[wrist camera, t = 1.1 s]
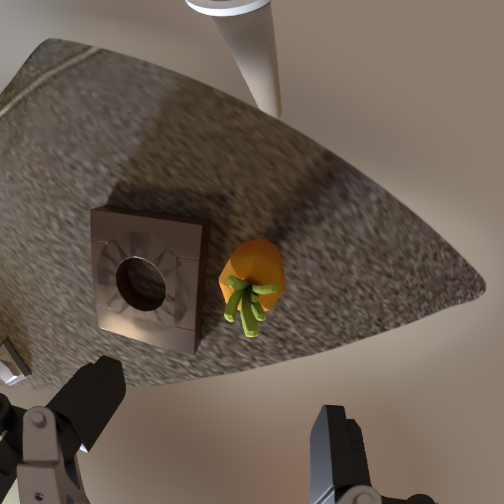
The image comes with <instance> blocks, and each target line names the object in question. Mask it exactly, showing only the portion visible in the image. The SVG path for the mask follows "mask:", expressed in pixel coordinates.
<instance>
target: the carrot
mask: <svg viewBox="0 0 504 504" xmlns="http://www.w3.org/2000/svg"><path fill="white" fill-rule="evenodd" d="M219 283H220V286H221V289H222V292H223V295H224V298H225V301H226V303H227V305H226V308H225V312H224V315H225V318H226V319H227V320H228V321H230V322H234V319H235V316H236V312H237V309H238V310H240V311H241V319H242V324H243V328H244V331H245V334H246V336H247V337H255V336H258V334H259V330H258V326H257V323H256V320H255V317H254V314H255V316H256V319H257V320H260V321H263V320H265V319H266V314H265V312H264V311H268V310H271V309H272V307H273V306H274V304H275V303H276V301H277V300H278V298H279V297H280V295H281V294H282V292H283V291H284V289H285V276H284V268H283V265H282V261H281V257H280V253H279V250H278V248H277V246H276V245H275V244H273V243H271V242H269V241H268V240H266V239H264V238H259V239H255V240H250V241H247V242H244V243H242V244H240V245H239V247H238V248H237V249H236V250H235V251H234V253H233V254H232V256H231V257H230V259H229V261H228V262H227V264H226V266H225V268H224V270H223V271H222V273H221V275H220V277H219ZM253 313H254V314H253Z"/></svg>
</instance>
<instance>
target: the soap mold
mask: <svg viewBox="0 0 504 504" xmlns="http://www.w3.org/2000/svg"><path fill="white" fill-rule="evenodd" d="M30 375H31V373H30V371H29V370H28V369H27V367H26V366H25V365H24V363H23V362H22V360H21V359H20V357H19V356H18V355H17V353H16V352H15V350H14V349H13V347H12V346H11V344H10V343H9V341H8V339H7V340H6V341H5V342H4V343H3V344H2V346H1V347H0V378H1V379H2V380H4V382H5V383H6V384H7V386H10V385H12V384H14V383H16V382H18V381H20V380H22V379H24V378H26V377H28V376H30Z"/></svg>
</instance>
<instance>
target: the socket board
mask: <svg viewBox="0 0 504 504" xmlns="http://www.w3.org/2000/svg"><path fill="white" fill-rule="evenodd" d="M209 228H210V220H208V219H201V218H194V217H187V216H180V215H173V214H166V213H159V212H151V211H144V210H136V209H128V208H120V207H112V206H101V207H98V208H94V209H91V254H92V270H93V282H94V292H95V301H96V309H97V317H98V324H99V327H100V328H103V329H106V330H109V331H112V332H115V333H118V334H121V335H124V336H127V337H130V338H133V339H137V340H140V341H143V342H147V343H150V344H154V345H157V346H161V347H164V348H168V349H172V350H176V351H180V352H184V353H188V354H192V355H195V353H196V351H197V348H198V346H199V344H200V342H201V329H202V312H203V297H204V283H205V271H206V259H207V248H208V238H209ZM133 257H136V258H141V259H145V260H146V261H148V262H150V263H151V264H153V265H154V266H155V267H156V268H157V270H158V271H159V272H160V273H161V275H162V277H163V280H164V283H165V285H166V297H165V299H163V300H157V301H154V300H150V299H146V298H144V297H143V296H141V295H140V294H138V293H137V291H136V290H135V289H134V288H133V286H132V285H131V282H130V279H129V277H128V264H129V262H130V259H131V258H133Z"/></svg>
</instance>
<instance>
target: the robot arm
mask: <svg viewBox="0 0 504 504" xmlns="http://www.w3.org/2000/svg"><path fill="white" fill-rule="evenodd" d="M211 1H230V0H211ZM125 392H126V384H125V379H124V374H123V368H122V363H121V362H120V361H119V360H116V359H113V358H110V357H108V356H105V355H103V356H101V357H100V358H99V359H98V360H97V362H96V363H95V364H93V363H89V364H87V365H85V366H83V367H81V368H80V369H79V370H78V371H77V372H76V373H75V374H74V375H73V377H72V378H71V379H70V380H69V381H68V383H66V384H65V385H64V386H63V387H62V389H61V390H60V391H59V392H58V393H57V394H56V395H55V396H54V398H53V399H52V400H51V401H50V402H49V403H48V405H46V406H45V407H43V406H35V407H32V408H30V409H28V410H26V409H23V408H20V407H16V406H13V405H11V403H10V401H9V400H8V398H7V397H6V396H5V395H4V394H2V393H0V436H2V440H1V441H0V504H2V502H3V500H4V498H5V496H6V495H7V493H8V491H9V490H10V488H11V486H12V485H13V483H14V481H15V480H16V478H17V480H18V489H19V498H20V504H90V502H89V500H88V498H87V496H86V494H85V491H84V487H83V483H82V479H81V474H80V470H79V464H78V459H77V455H76V453H77V451H78V450H79V449H81V450H83V451H85V452H87V453H89V451H90V449H91V448H92V446H93V445H94V443H95V442H96V440H97V438H98V437H99V436H100V434H101V432H102V431H103V429H104V428H105V426H106V425H107V423H108V422H109V420H110V419H111V417H112V416H113V414H114V413H115V411H116V409H117V408H118V406H119V405H120V403H121V402H122V400H123V399H124V396H125ZM364 449H365V448H364V443H363V437H362V432H361V428H360V427H359V426H358V424H357V423H356V421H355V420H354V419H346V414H345V409H344V407H343V406H337V405H323V407H322V409H321V411H320V413H319V415H318V417H317V419H316V422H315V423H314V425H313V428H312V431H311V436H310V469H311V471H310V472H311V499H310V501H311V503H310V504H435V502H434V501H433V499H431V498H430V497H429V496H427V495H425V494H416V495H413V496H411V497H410V498H408V499H407V500H402V499H395V498H388V497H384V496H381V495H380V494H379V492H378V491H377V490H376V489H374V488H373V487H372V485H371V482H370V476H369V470H368V464H367V458H366V453H365V451H364Z"/></svg>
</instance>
